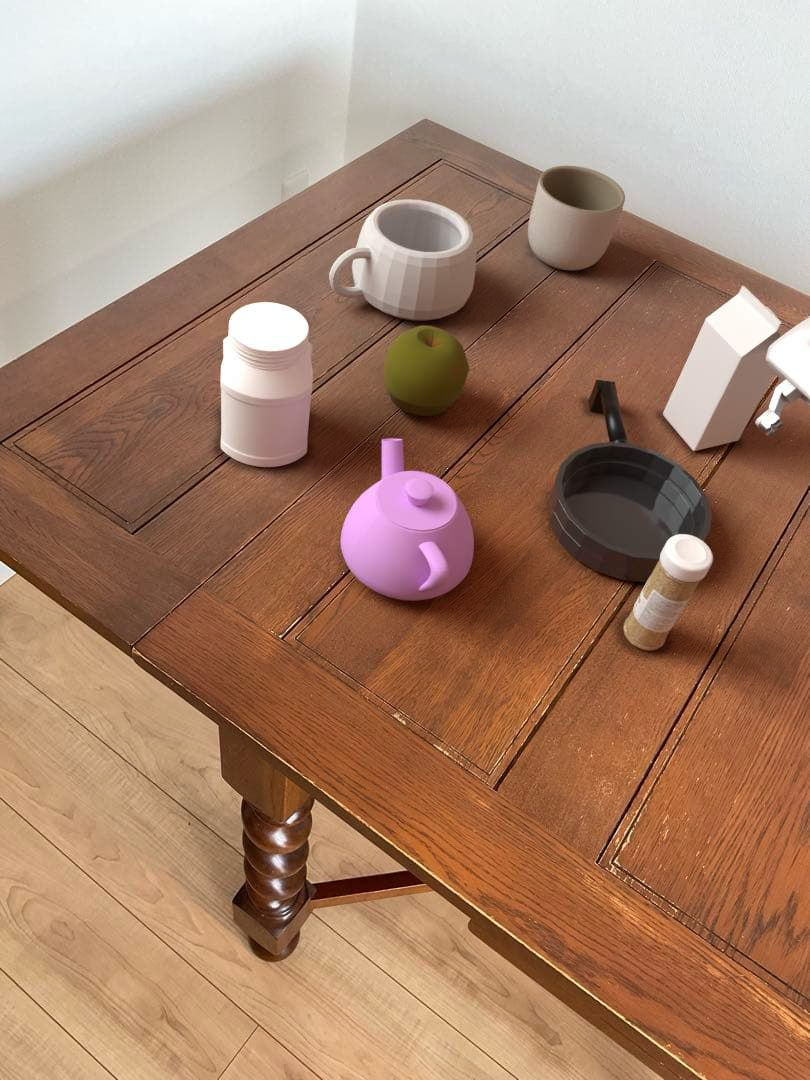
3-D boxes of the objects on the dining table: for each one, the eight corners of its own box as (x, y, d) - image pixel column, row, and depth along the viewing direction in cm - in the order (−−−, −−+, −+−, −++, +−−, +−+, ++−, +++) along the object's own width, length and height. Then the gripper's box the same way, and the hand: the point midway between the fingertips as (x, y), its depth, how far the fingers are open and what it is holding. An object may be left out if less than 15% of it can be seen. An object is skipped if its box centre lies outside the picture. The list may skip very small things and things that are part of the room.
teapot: (437, 477, 110) (454, 407, 102) (492, 619, 98) (516, 551, 90) (319, 489, 106) (327, 417, 98) (360, 637, 94) (373, 568, 86)
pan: (680, 477, 116) (694, 450, 113) (710, 591, 105) (726, 565, 101) (539, 462, 114) (548, 434, 111) (554, 577, 103) (565, 550, 100)
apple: (386, 432, 114) (399, 358, 106) (371, 378, 120) (382, 304, 112) (467, 428, 116) (486, 356, 108) (449, 376, 122) (465, 304, 114)
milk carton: (693, 452, 119) (756, 327, 105) (661, 415, 123) (718, 289, 109) (738, 441, 122) (805, 318, 108) (705, 405, 126) (766, 281, 112)
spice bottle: (633, 609, 102) (678, 524, 92) (672, 632, 100) (722, 549, 90) (614, 636, 99) (658, 552, 89) (653, 660, 98) (703, 577, 87)
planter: (606, 244, 149) (628, 178, 140) (598, 288, 140) (621, 220, 132) (527, 224, 149) (545, 157, 141) (515, 266, 141) (533, 198, 133)
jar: (224, 396, 114) (224, 289, 103) (306, 401, 116) (315, 296, 104) (219, 465, 107) (218, 358, 95) (306, 470, 108) (316, 364, 97)
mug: (429, 246, 141) (440, 183, 134) (493, 312, 133) (509, 249, 125) (297, 275, 132) (302, 209, 124) (357, 348, 124) (366, 281, 116)
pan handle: (606, 403, 123) (617, 375, 120) (620, 473, 115) (633, 445, 112) (588, 401, 123) (598, 373, 120) (601, 471, 115) (612, 443, 111)
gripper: (833, 273, 88) (713, 379, 92) (1014, 415, 77) (870, 530, 81) (844, 305, 93) (730, 404, 97) (1015, 443, 82) (880, 549, 86)
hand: (795, 462), depth 88 cm, fingers open, 8 cm apart
